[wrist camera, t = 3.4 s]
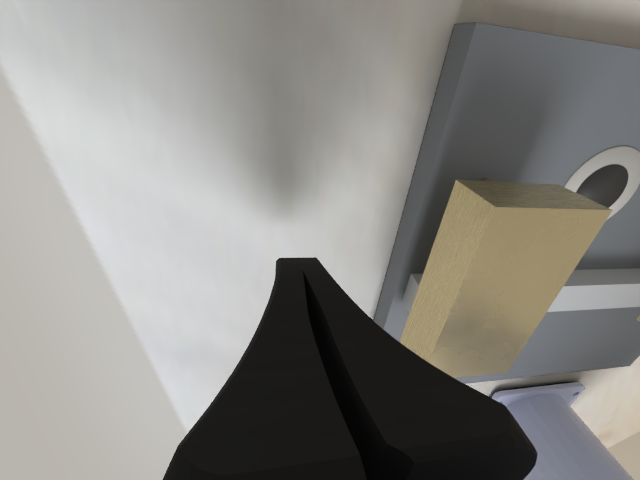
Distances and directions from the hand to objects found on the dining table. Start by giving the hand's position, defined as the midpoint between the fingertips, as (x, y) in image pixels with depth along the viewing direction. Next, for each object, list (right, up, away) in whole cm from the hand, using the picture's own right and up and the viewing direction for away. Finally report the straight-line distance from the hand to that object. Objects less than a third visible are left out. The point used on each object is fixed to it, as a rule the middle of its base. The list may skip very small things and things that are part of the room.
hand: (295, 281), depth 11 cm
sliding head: (+7, +1, +3) cm, 7 cm away
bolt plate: (+14, +1, +6) cm, 15 cm away
